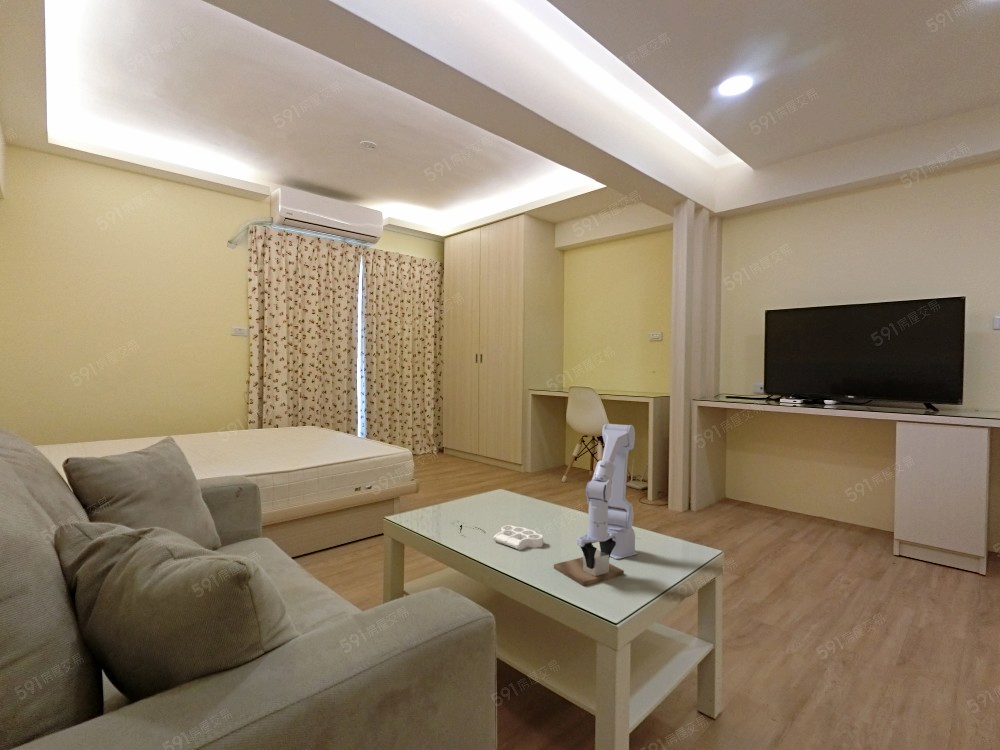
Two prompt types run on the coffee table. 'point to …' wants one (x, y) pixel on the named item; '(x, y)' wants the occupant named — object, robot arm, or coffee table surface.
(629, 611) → the coffee table surface
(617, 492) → the robot arm
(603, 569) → the brushed aluminum cube
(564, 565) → the walnut board
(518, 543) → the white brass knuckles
